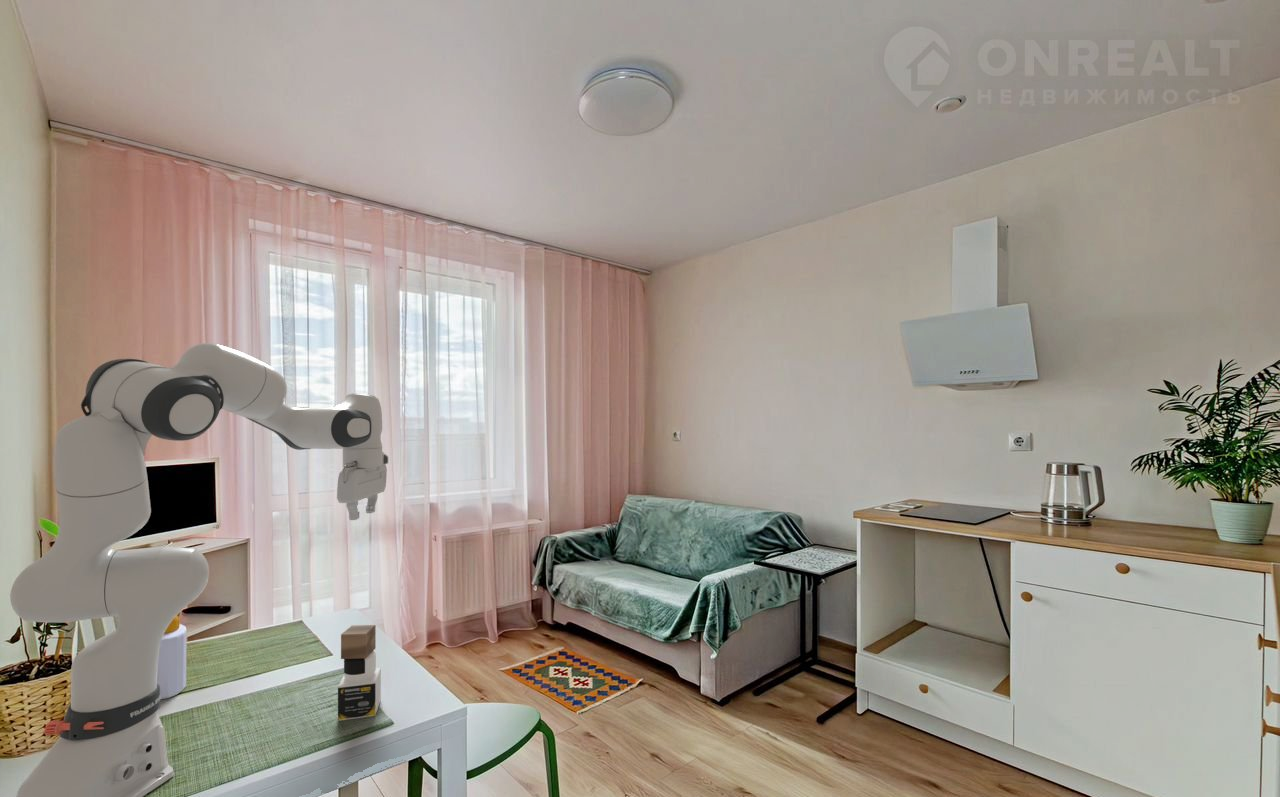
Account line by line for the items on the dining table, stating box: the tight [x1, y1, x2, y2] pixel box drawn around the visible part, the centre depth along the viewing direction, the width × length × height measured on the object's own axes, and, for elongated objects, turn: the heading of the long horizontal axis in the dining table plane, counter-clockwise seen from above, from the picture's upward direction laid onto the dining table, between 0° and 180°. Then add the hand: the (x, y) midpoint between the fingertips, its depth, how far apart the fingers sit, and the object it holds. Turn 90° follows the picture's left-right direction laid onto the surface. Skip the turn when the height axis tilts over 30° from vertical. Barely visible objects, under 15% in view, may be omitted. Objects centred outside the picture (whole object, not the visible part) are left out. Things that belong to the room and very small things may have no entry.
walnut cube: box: [340, 624, 377, 660], centre depth 123 cm, size 5×5×5 cm
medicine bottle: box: [337, 650, 382, 722], centre depth 123 cm, size 7×7×12 cm
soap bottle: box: [157, 614, 188, 701], centre depth 133 cm, size 13×8×20 cm, turn 46°
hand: (362, 516), depth 144 cm, fingers open, 8 cm apart
